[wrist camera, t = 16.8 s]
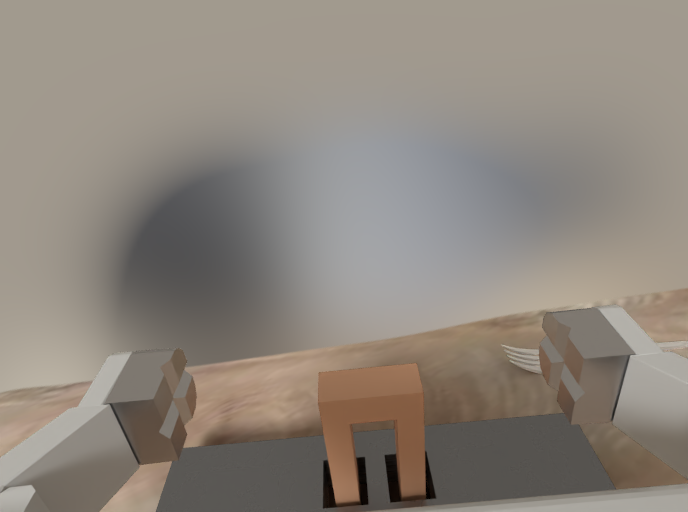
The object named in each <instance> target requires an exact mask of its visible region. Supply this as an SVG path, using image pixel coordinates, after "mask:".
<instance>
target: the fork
mask: <svg viewBox="0 0 688 512" xmlns="http://www.w3.org/2000/svg"><path fill="white" fill-rule="evenodd" d="M656 344H657V345H658V346H659V347H660V348H661V349H662V350H671V349H679V348H687V347H688V341H676V342H661V343H656ZM501 346H503V347H505V348H507V349H509V350H511V351H514V352H517V353H520V354H517V353H513V352H510V351H507V350H504V351H505V352H506V353H508V354H510V355H513V356H515V357H518V358H515V357H512V356H509V355H506V356H507V357H509V358H510V359H513V360H515V361H517V362H520V363H517V362H514V361H511V360H509V361H510V362H511V363H513V364H515V365H516V366H518V367H521V368H523V369H525V370H528V371H531V372H534V373H539V374H540V373H542V370H541V367H540V361H536V360H539V356H531V355H539V349H521V348H515V347H510V346H506V345H503V344H501ZM522 354H524V355H522ZM519 358H521V359H519ZM523 359H525V360H523ZM521 363H523V364H521ZM525 364H527V365H525ZM530 365H531V366H530Z"/></svg>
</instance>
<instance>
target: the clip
mask: <svg viewBox="0 0 688 512" xmlns="http://www.w3.org/2000/svg"><path fill="white" fill-rule="evenodd" d="M318 405H319V411H320V416H321V422H322V428H323V433H324V439H325V445H326V450H327V456H328V462H329V467H330V473H331V478H332V484H333V490H334V495H335V501H336V507H347V506H358V505H362V504H361V490H360V483H359V475H358V467H357V460H356V452H355V445H354V437H353V429H352V424H355V423H366V422H377V421H387V420H394V427H395V442H396V457H397V472H398V487H399V494H400V501H401V502H403V501H415V500H426V480H425V432H424V392H423V387H422V383H421V379H420V375H419V371H418V367H417V363H411V364H401V365H391V366H380V367H370V368H360V369H350V370H339V371H329V372H319V381H318Z"/></svg>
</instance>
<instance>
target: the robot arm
mask: <svg viewBox="0 0 688 512" xmlns="http://www.w3.org/2000/svg"><path fill="white" fill-rule="evenodd" d="M542 328H543V330H544V331H545V333H546V335H547V336H546V337H545V338H544V339H543V340H542V341H541V343H540V347H539V361H540V367H541V370H542V373H543V376H544V378H545V380H546V382H547V384H548V385H549V386H551V387H552V388H554V389H556V390H557V391H558V397H557V402H558V403H559V405H560V407H561V409H562V410H563V412H564V414H565V416H566V417H567V419H568V421H569V423H570V424H571V425H575V424H591V423H607V422H612V424H613V425H614V426H615V427H617V428H618V429H619V430H621V431H622V432H623V433H625V434H626V435H628V436H629V437H630V438H632V439H633V440H634V441H636V442H637V443H638V444H640V445H641V446H642V447H644V448H645V449H647V450H648V451H649V452H651V453H652V454H653V455H655V456H656V457H657V458H659V459H660V460H661V461H663V462H664V463H666V464H667V465H668V466H670V467H671V468H672V469H674V470H675V471H676V472H678V473H679V474H680V475H682V476H683V477H685V478H686V479H687V480H688V359H687V358H685V357H683V356H680V355H678V354H676V353H674V352H663V350H662V349H661V348H660V347H659V346H658V345H657V344H656V343H655V342H654V341H653V340H652V339H651V338H650V337H649V336H648V335H647V334H646V332H645V331H644V330H643V329H642V328H641V327H640V326H639V325H638V324H637V323H636V322H635V321H634V320H633V319H632V318H631V317H630V315H629V314H628V313H627V312H626V311H625V310H624V309H623V308H622V307H620V306H618V305H616V304H615V305H607V306H599V307H592V308H587V309H577V310H567V311H557V312H547V313H546V314H545V316H544V318H543V324H542ZM186 363H187V360H186V357H185V355H184V352H183V350H181V349H180V348H169V349H156V350H142V351H135V352H133V351H132V352H120V353H113V354H112V355H110V356H109V357H108V358H107V359H106V361H105V363H104V364H103V366H102V368H101V369H100V371H99V373H98V374H97V376H96V378H95V379H94V381H93V382H92V384H91V386H90V387H89V389H88V391H87V392H86V394H85V395H84V397H83V399H82V400H81V402H80V404H79V405H78V407H75V408H70V409H68V410H67V411H65V412H64V413H63V414H61V415H60V416H58V417H57V418H55V419H54V420H53V421H51V422H50V423H48V424H47V425H46V426H44V427H43V428H41V429H40V430H38V431H37V432H36V433H34V434H33V435H31V436H30V437H29V438H27V439H26V440H24V441H23V442H22V443H20V444H19V445H17V446H16V447H14V448H13V449H12V450H10V451H9V452H7V453H6V454H5V455H3V456H2V457H0V512H99V511H100V510H101V509H102V508H103V507H104V506H105V505H106V504H107V503H108V501H109V500H110V499H111V498H112V497H113V496H114V495H115V494H116V493H117V492H118V490H119V489H120V488H121V487H122V486H123V485H124V484H125V483H126V482H127V481H128V479H129V478H130V477H131V476H132V475H133V474H134V473H135V472H136V471H137V470H138V468H139V465H144V464H152V463H161V462H169V461H178V460H179V458H180V455H181V452H182V449H183V446H184V443H185V440H186V437H187V433H186V430H185V427H184V425H185V424H186V423H188V422H189V421H190V420H191V419H192V418H193V414H194V411H195V407H196V388H195V383H194V380H193V377H192V376H191V375H190V374H189V373H187V372H186V371H185V370H184V369H185V366H186ZM366 512H688V483H687V484H675V485H664V486H652V487H641V488H629V489H618V490H607V491H595V492H584V493H572V494H561V495H549V496H538V497H526V498H515V499H503V500H492V501H480V502H469V503H458V504H446V505H435V506H423V507H412V508H400V509H389V510H377V511H366Z"/></svg>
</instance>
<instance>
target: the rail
mask: <svg viewBox="0 0 688 512" xmlns="http://www.w3.org/2000/svg"><path fill="white" fill-rule="evenodd" d="M424 432H425V478H427V481H428V486H429V491H430V496H431V499H426V500H415V501H403V502H392V503H390V497H389V488H388V481H396V480H398V472H397V457H396V442H395V429H386V430H375V431H364V432H353V437H354V445H355V452H356V460H357V467H358V475H359V483H360V484H362V483H367V489H368V502H369V505H358V506H347V507H336V508H328V487H329V486H333V484H332V478H331V473H330V467H329V462H328V456H327V450H326V445H325V439H324V435H321V436H310V437H299V438H288V439H277V440H267V441H256V442H245V443H234V444H223V445H212V446H201V447H191V448H183V449H182V452H181V455H180V458H179V460H178V461H172V464H171V467H170V470H169V473H168V476H167V479H166V482H165V485H164V488H163V491H162V494H161V497H160V500H159V503H158V507H157V510H156V512H366V511H377V510H389V509H400V508H412V507H423V506H435V505H446V504H458V503H469V502H480V501H492V500H503V499H515V498H526V497H538V496H549V495H561V494H572V493H584V492H595V491H607V490H616V488H615V487H614V485H613V483H612V481H611V480H610V478H609V476H608V475H607V473H606V471H605V469H604V468H603V466H602V464H601V462H600V461H599V459H598V457H597V455H596V454H595V452H594V450H593V449H592V447H591V445H590V443H589V442H588V440H587V438H586V436H585V435H584V433H583V431H582V430H581V428H580V426H579V424H575V425H571V424H570V423H569V421H568V419H567V417H566V416H565V414H564V413H560V414H549V415H538V416H527V417H516V418H505V419H494V420H484V421H473V422H462V423H451V424H440V425H429V426H424Z"/></svg>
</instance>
